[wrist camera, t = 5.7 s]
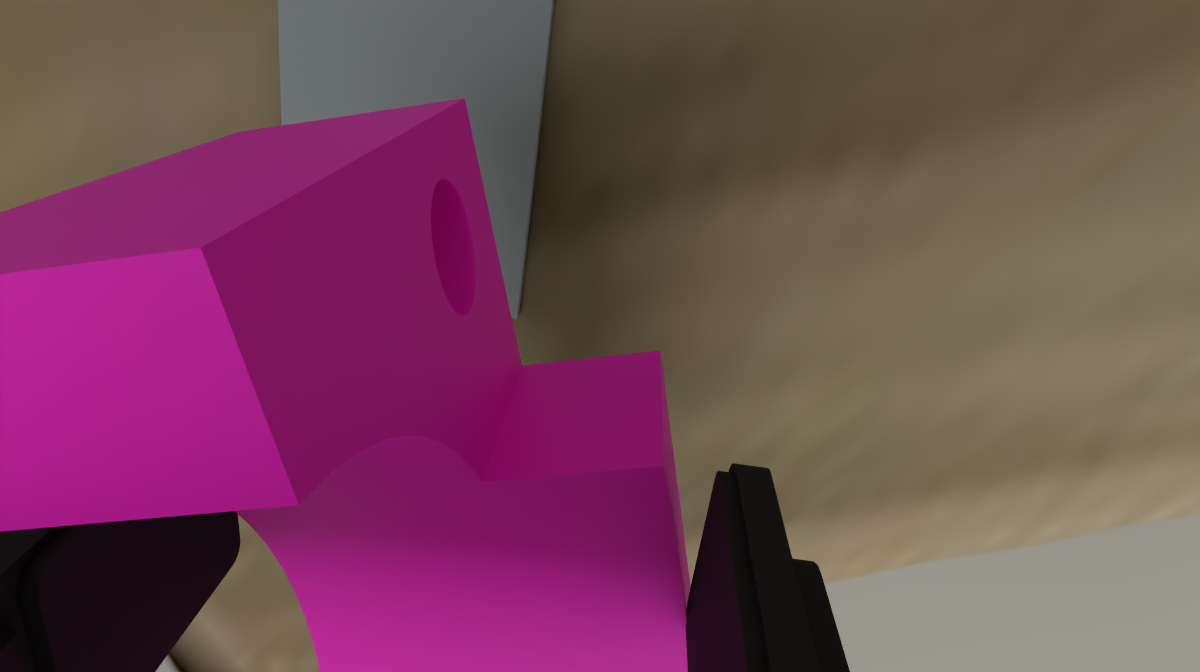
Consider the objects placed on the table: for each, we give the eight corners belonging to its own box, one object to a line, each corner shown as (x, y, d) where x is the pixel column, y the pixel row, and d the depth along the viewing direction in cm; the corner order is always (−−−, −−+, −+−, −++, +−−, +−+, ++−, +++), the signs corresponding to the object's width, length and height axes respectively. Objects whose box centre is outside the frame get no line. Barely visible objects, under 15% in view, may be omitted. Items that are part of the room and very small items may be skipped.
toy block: (711, 750, 17) (750, 1238, 11) (450, 761, 18) (330, 1226, 11) (625, 73, 11) (586, 197, 4) (238, 131, 12) (-298, 314, 5)
